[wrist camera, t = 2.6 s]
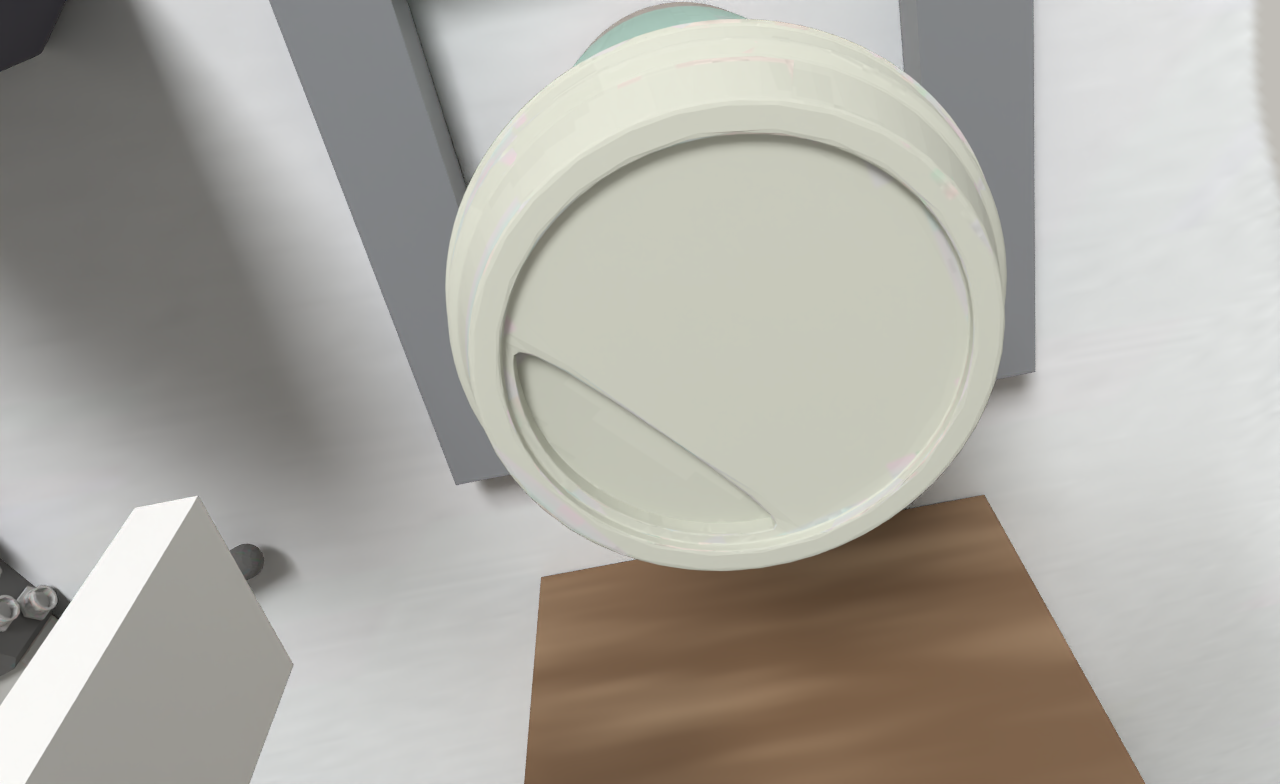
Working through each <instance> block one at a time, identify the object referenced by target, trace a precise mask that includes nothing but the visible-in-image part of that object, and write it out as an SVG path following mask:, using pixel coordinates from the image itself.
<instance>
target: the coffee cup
mask: <svg viewBox="0 0 1280 784" xmlns="http://www.w3.org/2000/svg"><path fill="white" fill-rule="evenodd" d="M1006 282H1007V269H1006V252H1005V244H1004V237H1003V233H1002V228H1001V223H1000V219H999V215H998V212H997V208H996V205H995V202H994V200H993V197H992V194H991V191H990V189H989V187H988V184H987V182H986V180H985V177H984V174H983V172H982V169H981V167H980V165H979V163H978V160H977V158H976V156H975V154H974V152H973V150H972V149H971V147H970V145H969V143H968V142H967V140H966V138H965V137H964V135H963V134H962V132H961V131H960V129H959V128H958V126H957V125H956V123H955V122H954V121H953V119H952V118H951V117H950V116H949V114H948V113H947V112H946V111H945V109H944V108H943V107H942V106H941V105H940V104H939V103H938V102H937V101H936V99H935V98H934V97H933V96H932V95H931V94H930V93H928V92H927V91H926V90H925V89H924V88H923V87H922V86H921V85H920V84H919V83H918V82H916V81H915V80H914V79H913V78H912V77H910V76H909V75H908V74H906V73H905V72H904V71H902V70H901V69H899V68H898V67H897V66H895V65H894V64H892V63H891V62H889V61H887V60H886V59H884V58H883V57H881V56H879V55H877V54H876V53H874V52H872V51H870V50H868V49H866V48H864V47H862V46H860V45H858V44H856V43H853V42H851V41H849V40H846V39H844V38H841V37H838V36H836V35H833V34H830V33H827V32H823V31H820V30H817V29H813V28H809V27H805V26H801V25H795V24H790V23H784V22H777V21H769V20H756V19H747V18H744V17H742V16H740V15H737V14H734V13H732V12H729V11H726V10H724V9H721V8H718V7H714V6H711V5H706V4H700V3H692V2H675V3H666V4H660V5H655V6H651V7H648V8H645V9H642V10H639V11H637V12H634V13H632V14H630V15H628V16H626V17H624V18H623V19H621V20H619V21H618V22H616V23H615V24H613V25H612V26H610V27H609V28H608V29H607V30H605V31H604V32H603V33H602V34H601V35H600V36H599V37H597V38H596V40H595V41H594V42H593V43H592V44H591V45H590V46H589V47H588V49H587V50H586V51H585V52H584V54H583V55H582V56H581V57H580V59H579V60H578V61H577V62H576V64H575V65H574V66H573V68H571V69H570V70H568V71H567V72H565V73H564V74H562V75H561V76H559V77H558V78H557V79H555V80H554V81H553V82H551V83H550V84H549V85H548V86H546V87H545V88H544V89H543V90H541V91H540V92H539V93H538V94H537V95H536V96H534V97H533V98H532V99H531V100H530V101H529V102H528V103H527V104H526V105H525V106H524V107H523V108H522V109H521V110H520V111H519V112H518V113H517V114H516V115H515V116H514V117H513V118H512V120H511V121H510V122H509V123H508V124H507V125H506V127H505V128H504V129H503V130H502V131H501V133H500V134H499V135H498V137H497V138H496V139H495V141H494V142H493V143H492V145H491V146H490V148H489V149H488V151H487V152H486V154H485V155H484V157H483V159H482V160H481V162H480V164H479V165H478V167H477V169H476V171H475V173H474V175H473V177H472V179H471V181H470V183H469V185H468V187H467V189H466V191H465V194H464V196H463V199H462V201H461V204H460V207H459V210H458V212H457V216H456V219H455V222H454V226H453V230H452V234H451V239H450V244H449V249H448V256H447V265H446V283H445V291H446V309H447V317H448V328H449V337H450V344H451V349H452V354H453V358H454V363H455V366H456V370H457V373H458V377H459V379H460V382H461V385H462V387H463V390H464V392H465V394H466V397H467V399H468V401H469V404H470V406H471V408H472V410H473V411H474V413H475V415H476V417H477V418H478V420H479V422H480V424H481V425H482V427H483V428H484V430H485V432H486V434H487V436H488V438H489V440H490V442H491V444H492V446H493V448H494V450H495V452H496V454H497V456H498V457H499V459H500V460H501V461H502V463H503V464H504V466H505V467H506V469H507V470H508V472H509V473H510V475H511V476H512V477H513V479H514V480H515V481H516V482H517V483H518V484H519V486H520V487H521V488H522V489H523V490H524V491H525V492H526V494H528V495H529V496H530V497H531V498H532V499H533V500H534V501H535V502H536V503H537V504H538V505H539V506H540V507H541V508H542V509H543V510H544V511H546V512H547V513H548V514H550V515H551V516H552V517H554V518H555V519H557V520H558V521H559V522H561V523H562V524H563V525H565V526H566V527H567V528H569V529H570V530H572V531H574V532H576V533H577V534H579V535H581V536H583V537H585V538H586V539H588V540H590V541H592V542H594V543H596V544H598V545H600V546H603V547H605V548H607V549H609V550H611V551H614V552H616V553H619V554H622V555H625V556H628V557H631V558H634V559H637V560H640V561H645V562H649V563H653V564H657V565H662V566H668V567H674V568H682V569H689V570H703V571H735V570H746V569H757V568H764V567H769V566H775V565H780V564H785V563H790V562H794V561H797V560H801V559H804V558H808V557H811V556H815V555H818V554H820V553H823V552H826V551H828V550H831V549H834V548H836V547H839V546H841V545H843V544H845V543H847V542H850V541H852V540H854V539H856V538H858V537H860V536H862V535H864V534H866V533H868V532H869V531H871V530H873V529H874V528H876V527H878V526H879V525H881V524H882V523H884V522H886V521H887V520H889V519H890V518H892V517H893V516H894V515H896V514H897V513H899V512H900V511H901V510H903V509H904V508H905V507H907V506H908V505H909V504H910V503H912V502H913V501H914V500H915V499H916V498H918V497H919V496H920V495H921V494H922V493H923V492H924V491H925V490H926V489H928V488H929V487H930V486H931V485H932V484H933V483H934V482H935V481H936V480H937V478H938V477H939V476H940V475H941V474H942V473H943V472H944V471H945V470H946V468H947V467H948V466H949V465H950V463H951V462H952V461H953V460H954V459H955V457H956V456H957V455H958V454H959V452H960V451H961V449H962V448H963V446H964V445H965V443H966V442H967V440H968V438H969V437H970V435H971V434H972V432H973V431H974V429H975V428H976V426H977V423H978V421H979V419H980V417H981V415H982V413H983V411H984V409H985V407H986V405H987V403H988V400H989V397H990V395H991V392H992V389H993V387H994V384H995V381H996V377H997V372H998V368H999V364H1000V360H1001V356H1002V350H1003V340H1004V329H1005V298H1006Z"/></svg>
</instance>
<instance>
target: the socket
mask: <svg viewBox="0 0 1280 784" xmlns="http://www.w3.org/2000/svg"><path fill="white" fill-rule="evenodd" d="M269 1H270V4H271V6H272V9H273V12H274V14H275V17H276V19H277V22H278V25H279V27H280V30H281V32H282V35H283V37H284V40H285V43H286V45H287V48H288V50H289V53H290V56H291V58H292V61H293V63H294V66H295V69H296V71H297V74H298V76H299V79H300V82H301V84H302V87H303V89H304V92H305V95H306V97H307V100H308V102H309V105H310V108H311V110H312V113H313V115H314V118H315V120H316V123H317V126H318V128H319V131H320V133H321V136H322V139H323V141H324V144H325V146H326V149H327V152H328V154H329V157H330V159H331V162H332V165H333V167H334V170H335V172H336V175H337V178H338V180H339V183H340V185H341V188H342V191H343V193H344V196H345V198H346V201H347V204H348V206H349V209H350V211H351V214H352V216H353V219H354V222H355V224H356V227H357V229H358V232H359V235H360V237H361V240H362V242H363V245H364V248H365V250H366V253H367V255H368V258H369V261H370V263H371V266H372V268H373V271H374V274H375V276H376V279H377V281H378V284H379V287H380V289H381V292H382V294H383V297H384V299H385V302H386V305H387V307H388V310H389V312H390V315H391V318H392V320H393V323H394V325H395V328H396V331H397V333H398V336H399V338H400V341H401V344H402V346H403V349H404V351H405V354H406V357H407V359H408V362H409V364H410V367H411V370H412V372H413V375H414V377H415V380H416V382H417V385H418V388H419V390H420V393H421V395H422V398H423V401H424V403H425V406H426V408H427V411H428V414H429V416H430V419H431V421H432V424H433V427H434V429H435V432H436V434H437V437H438V440H439V442H440V445H441V447H442V450H443V453H444V455H445V458H446V460H447V463H448V465H449V468H450V471H451V473H452V476H453V478H454V481H455V484H456V485H459V484H464V483H469V482H474V481H479V480H485V479H490V478H495V477H500V476H505V475H510V473H509V472H508V470H507V469H506V467H505V466H504V464H503V463H502V461H501V460H500V459H499V457H498V456H497V454H496V452H495V450H494V448H493V446H492V444H491V442H490V440H489V438H488V436H487V434H486V432H485V430H484V428H483V427H482V425H481V424H480V422H479V420H478V418H477V417H476V415H475V413H474V411H473V410H472V408H471V406H470V404H469V401H468V399H467V397H466V394H465V392H464V390H463V387H462V385H461V382H460V379H459V377H458V373H457V370H456V366H455V363H454V358H453V354H452V349H451V344H450V337H449V328H448V317H447V309H446V291H445V283H446V265H447V256H448V249H449V244H450V239H451V234H452V230H453V226H454V222H455V219H456V216H457V212H458V210H459V207H460V204H461V201H462V199H463V196H464V194H465V191H466V189H467V188H466V185H465V182H464V179H463V176H462V173H461V169H460V166H459V163H458V160H457V157H456V154H455V150H454V147H453V144H452V141H451V138H450V135H449V132H448V128H447V125H446V122H445V119H444V116H443V113H442V109H441V106H440V103H439V100H438V97H437V94H436V91H435V87H434V84H433V81H432V78H431V75H430V72H429V68H428V65H427V62H426V59H425V56H424V53H423V50H422V46H421V43H420V40H419V37H418V34H417V31H416V27H415V24H414V21H413V18H412V15H411V12H410V9H409V5H408V2H407V0H269ZM899 7H900V21H901V35H902V48H903V62H904V72H905V73H906V74H908V75H909V76H910V77H912V78H913V79H914V80H915V81H916V82H918V83H919V84H920V85H921V86H922V87H923V88H924V89H925V90H926V91H927V92H928V93H930V94H931V95H932V96H933V97H934V98H935V99H936V101H937V102H938V103H939V104H940V105H941V106H942V107H943V108H944V109H945V111H946V112H947V113H948V114H949V116H950V117H951V118H952V119H953V121H954V122H955V123H956V125H957V126H958V128H959V129H960V131H961V132H962V134H963V135H964V137H965V138H966V140H967V142H968V143H969V145H970V147H971V149H972V150H973V152H974V154H975V156H976V158H977V160H978V163H979V165H980V167H981V169H982V172H983V174H984V177H985V180H986V182H987V184H988V187H989V189H990V191H991V194H992V197H993V200H994V202H995V205H996V208H997V212H998V215H999V219H1000V223H1001V228H1002V233H1003V237H1004V244H1005V252H1006V269H1007V282H1006V298H1005V329H1004V340H1003V350H1002V356H1001V360H1000V364H999V368H998V372H997V377H996V379H1002V378H1007V377H1012V376H1017V375H1022V374H1027V373H1032V372H1035V232H1034V35H1033V0H899Z"/></svg>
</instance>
